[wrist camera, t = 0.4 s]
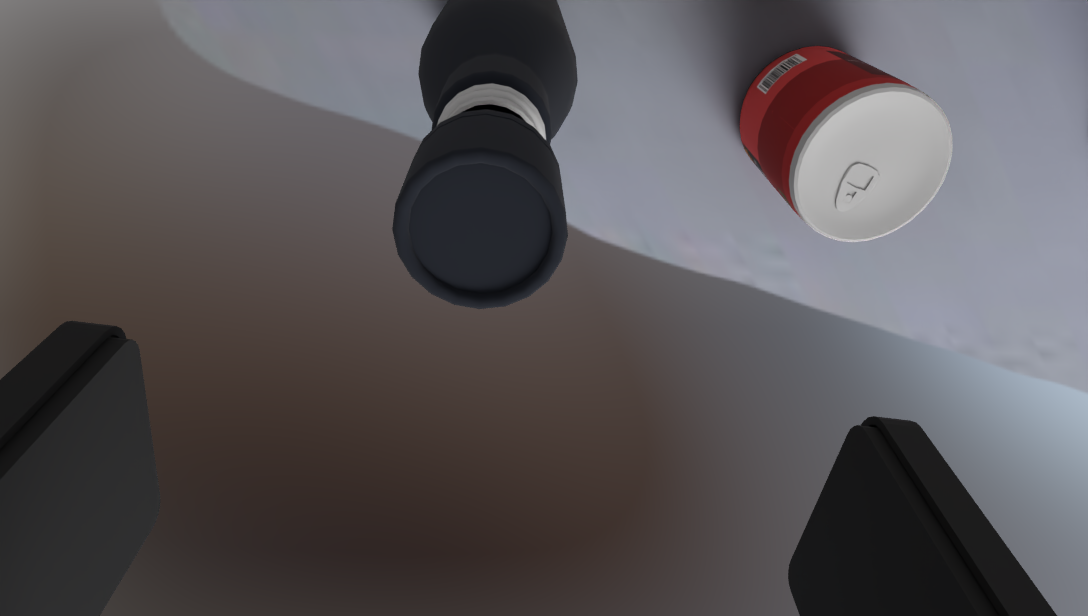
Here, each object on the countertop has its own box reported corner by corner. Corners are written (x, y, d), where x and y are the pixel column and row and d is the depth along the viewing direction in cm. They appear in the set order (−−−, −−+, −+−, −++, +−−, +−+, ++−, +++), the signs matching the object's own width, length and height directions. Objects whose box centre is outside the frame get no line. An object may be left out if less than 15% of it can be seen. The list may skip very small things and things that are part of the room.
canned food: (721, 165, 47) (773, 235, 37) (755, 34, 43) (823, 75, 33) (836, 179, 47) (916, 251, 38) (880, 51, 44) (981, 96, 34)
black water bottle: (493, -66, 40) (444, 15, 14) (583, 13, 42) (687, 212, 16) (426, 31, 42) (276, 257, 16) (514, 101, 44) (507, 401, 18)
